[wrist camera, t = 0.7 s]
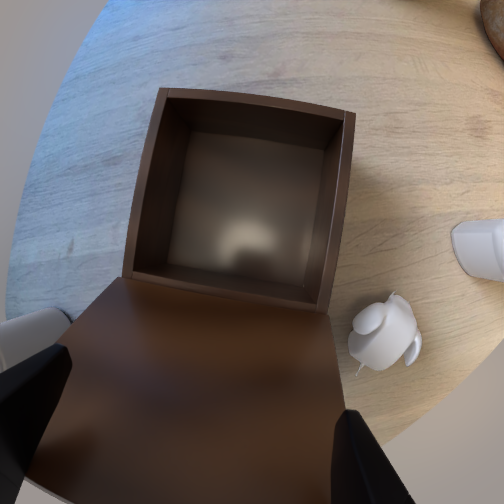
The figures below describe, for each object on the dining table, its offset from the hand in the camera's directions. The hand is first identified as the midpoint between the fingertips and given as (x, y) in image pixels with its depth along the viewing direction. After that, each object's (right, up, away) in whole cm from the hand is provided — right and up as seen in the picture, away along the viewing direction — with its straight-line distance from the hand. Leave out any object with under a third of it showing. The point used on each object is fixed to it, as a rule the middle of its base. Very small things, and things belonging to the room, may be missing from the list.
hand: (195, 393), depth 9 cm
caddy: (+1, +8, +19) cm, 21 cm away
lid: (-1, -1, +4) cm, 4 cm away
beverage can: (-19, -4, +20) cm, 28 cm away
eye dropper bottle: (+24, +5, +18) cm, 30 cm away
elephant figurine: (+13, -3, +19) cm, 23 cm away
